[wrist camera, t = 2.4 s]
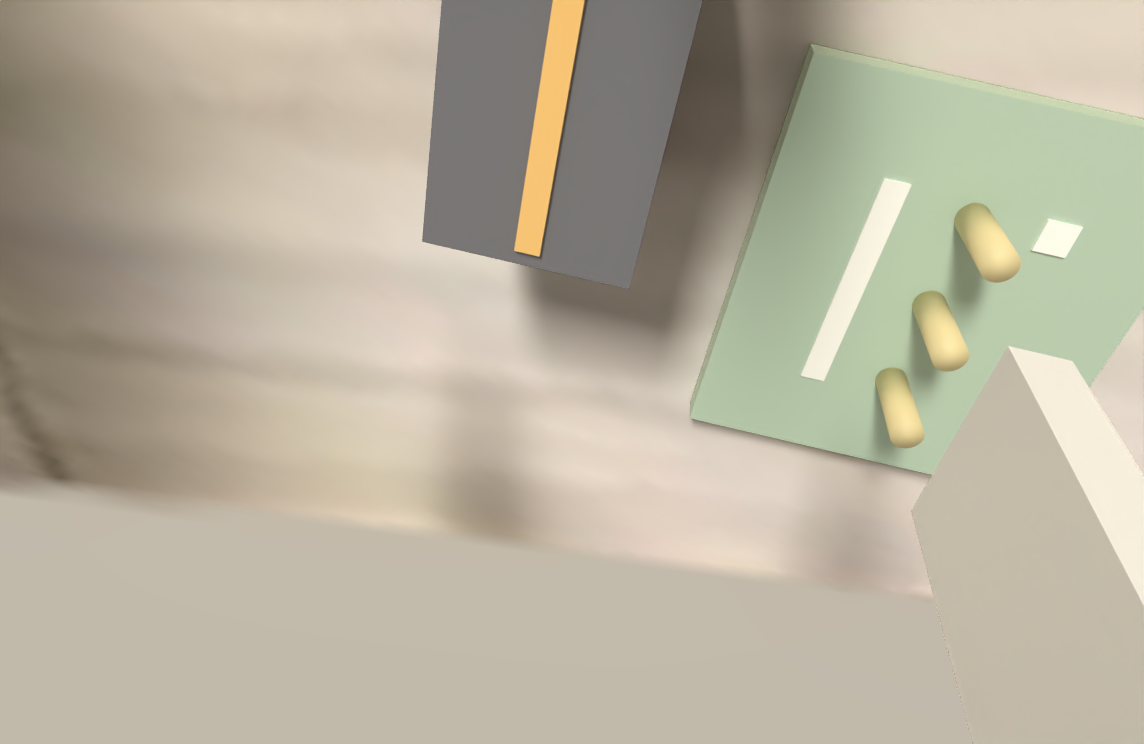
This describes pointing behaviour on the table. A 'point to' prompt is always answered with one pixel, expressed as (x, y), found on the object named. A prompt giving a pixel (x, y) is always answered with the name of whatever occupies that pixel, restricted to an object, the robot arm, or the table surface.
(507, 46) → the plug housing
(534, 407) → the table surface
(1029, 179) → the board
